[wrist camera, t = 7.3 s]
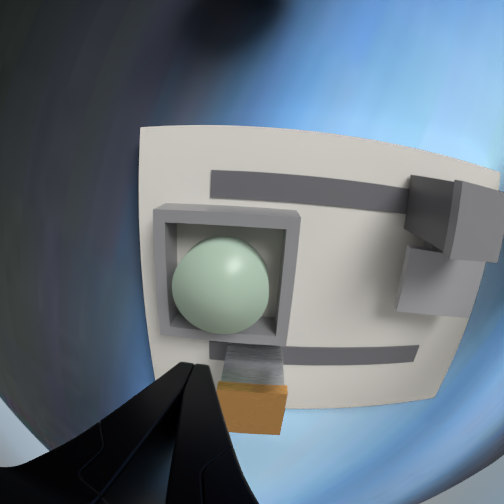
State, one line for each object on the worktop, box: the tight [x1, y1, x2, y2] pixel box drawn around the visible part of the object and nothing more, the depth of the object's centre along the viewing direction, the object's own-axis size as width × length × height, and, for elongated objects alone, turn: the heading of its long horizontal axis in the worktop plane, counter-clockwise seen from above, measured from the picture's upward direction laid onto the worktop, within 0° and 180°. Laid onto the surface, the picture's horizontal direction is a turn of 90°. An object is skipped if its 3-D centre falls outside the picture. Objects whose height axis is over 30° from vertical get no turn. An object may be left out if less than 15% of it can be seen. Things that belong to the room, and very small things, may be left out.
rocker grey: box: [394, 244, 486, 318], centre depth 14 cm, size 5×4×1 cm
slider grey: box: [404, 175, 504, 263], centre depth 12 cm, size 3×3×5 cm
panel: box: [139, 125, 500, 409], centre depth 16 cm, size 22×18×4 cm
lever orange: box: [217, 342, 288, 435], centre depth 15 cm, size 3×3×5 cm
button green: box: [172, 236, 269, 334], centre depth 14 cm, size 4×4×2 cm
